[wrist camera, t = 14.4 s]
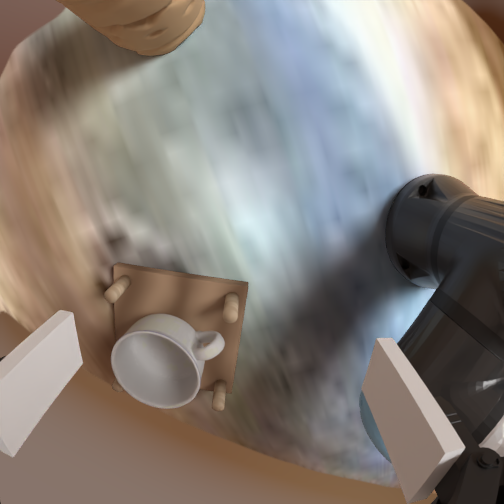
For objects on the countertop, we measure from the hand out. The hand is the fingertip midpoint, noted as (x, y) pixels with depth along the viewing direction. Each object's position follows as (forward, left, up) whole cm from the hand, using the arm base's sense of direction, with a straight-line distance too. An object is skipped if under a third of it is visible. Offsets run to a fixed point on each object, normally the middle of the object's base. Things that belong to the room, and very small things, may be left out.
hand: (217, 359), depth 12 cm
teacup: (+6, +15, -25) cm, 29 cm away
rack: (+6, +15, -26) cm, 31 cm away
